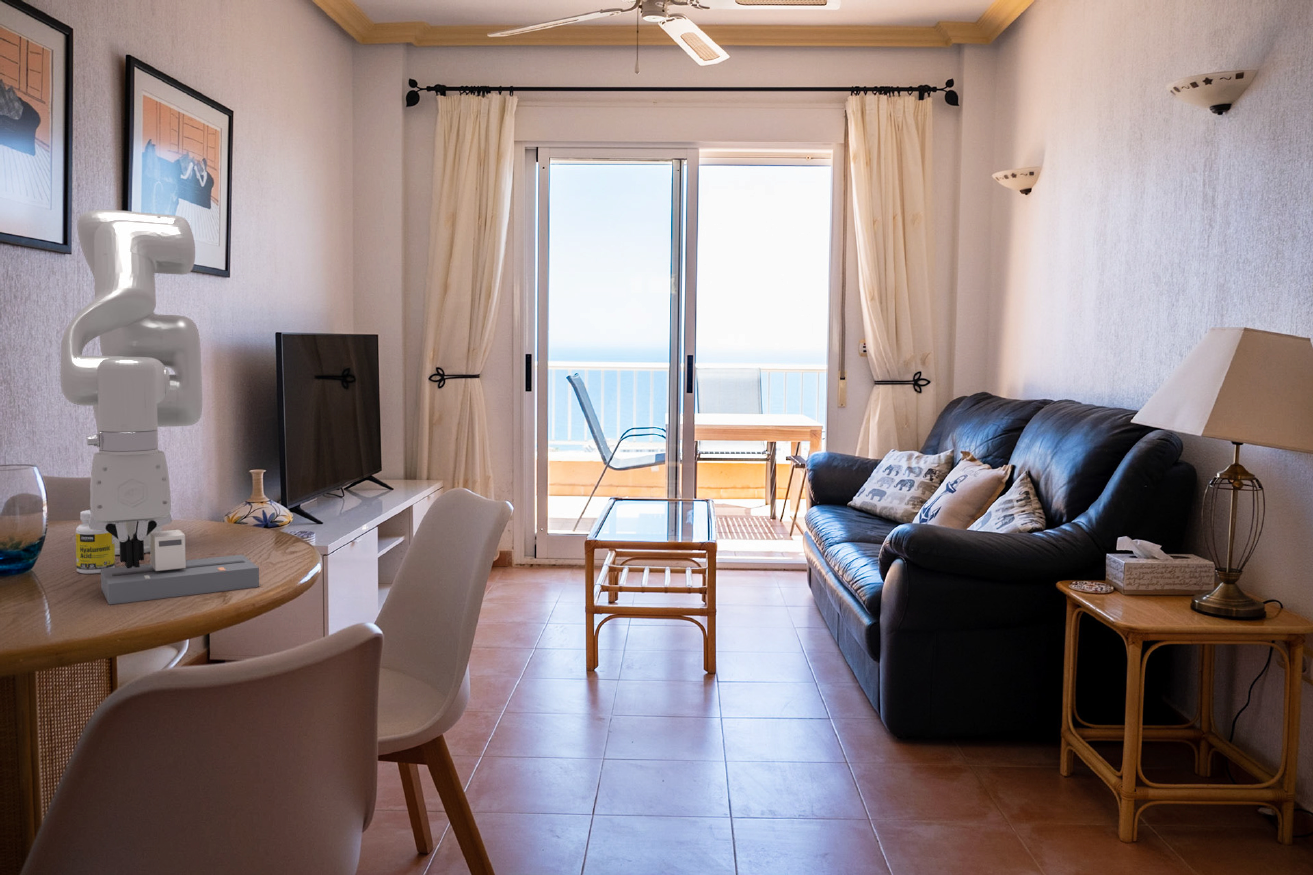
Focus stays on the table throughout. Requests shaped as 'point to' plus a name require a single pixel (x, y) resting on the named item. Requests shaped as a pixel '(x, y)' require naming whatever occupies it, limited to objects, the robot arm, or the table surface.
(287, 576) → the table surface
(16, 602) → the table surface
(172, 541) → the cap
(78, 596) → the table surface
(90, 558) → the supplement bottle
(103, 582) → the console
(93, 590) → the table surface
